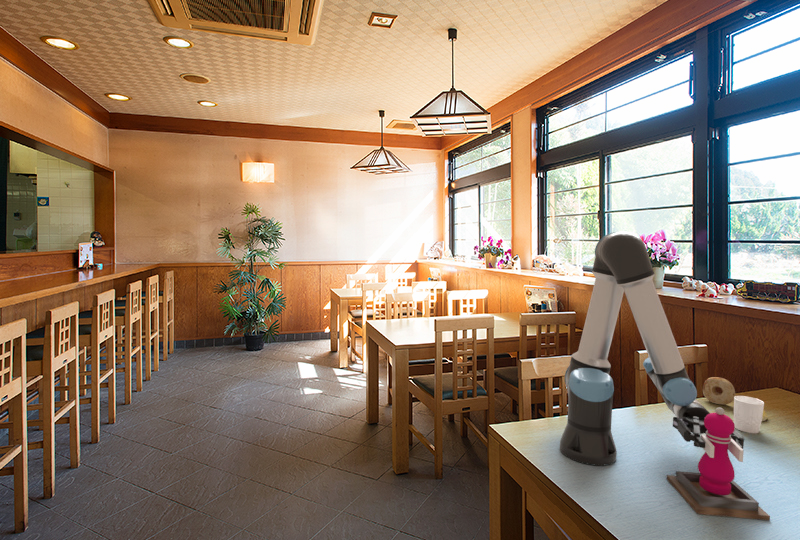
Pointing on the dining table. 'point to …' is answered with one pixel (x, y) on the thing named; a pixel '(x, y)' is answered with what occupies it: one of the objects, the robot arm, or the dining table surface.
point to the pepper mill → (717, 454)
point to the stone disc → (715, 397)
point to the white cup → (748, 414)
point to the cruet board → (716, 498)
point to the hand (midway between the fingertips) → (726, 453)
